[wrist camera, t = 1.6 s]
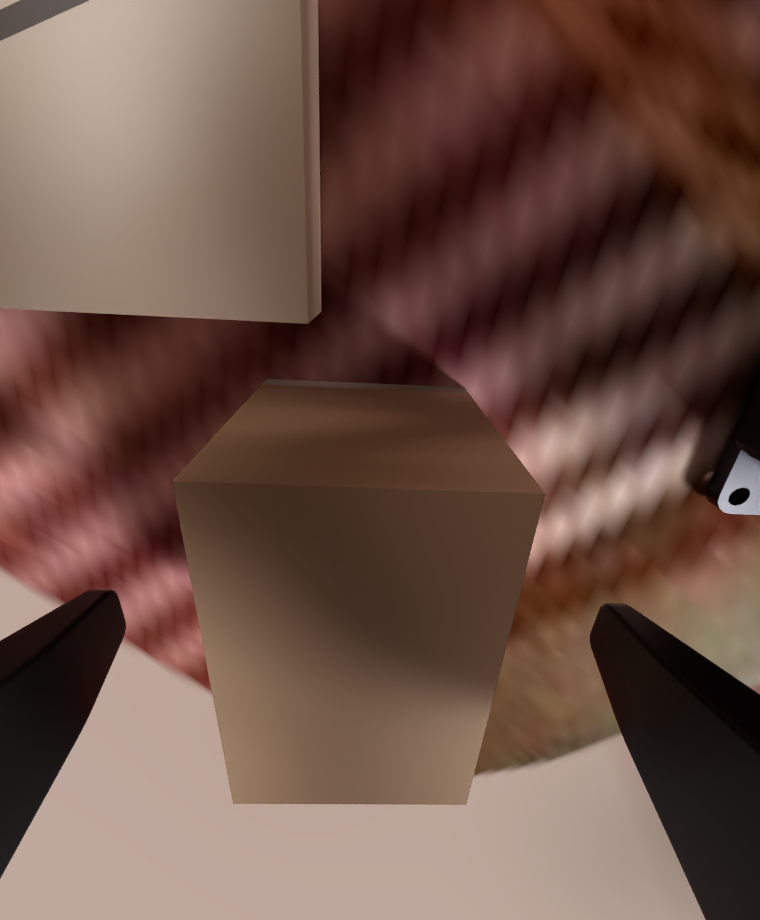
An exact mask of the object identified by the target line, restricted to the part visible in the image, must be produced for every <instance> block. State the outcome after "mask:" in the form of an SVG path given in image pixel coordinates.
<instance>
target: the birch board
mask: <svg viewBox="0 0 760 920" xmlns="http://www.w3.org/2000/svg"><path fill="white" fill-rule="evenodd" d="M0 309H20V310H40V311H60V312H80V313H101V314H121V315H141V316H161V317H182V318H202V319H222V320H242V321H262V322H283V323H303V324H308V323H309V322H311V321H312V320H313V319H314V318H315V317H316V316H317V315H318V314H319V313H320V312H321V222H320V129H319V36H318V0H0Z"/></svg>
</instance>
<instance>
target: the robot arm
mask: <svg viewBox="0 0 760 920" xmlns="http://www.w3.org/2000/svg"><path fill="white" fill-rule="evenodd" d="M733 491H734V493H733V494H731V493H732V492H733ZM730 494H731V495H730ZM706 496H707V500H708V501H709V502H710V503H712V504H713V505H714V506H716V507H717V508H719V509H720V510H721V511H723V512H725V513H729V514H750V515H760V372H759V374H758V376H757V378H756V381H755V383H754V385H753V387H752V389H751V392H750V394H749V396H748V398H747V401H746V403H745V405H744V407H743V410H742V412H741V414H740V416H739V419H738V421H737V423H736V425H735V428H734V430H733V432H732V434H731V436H730V439H729V441H728V443H727V445H726V448H725V450H724V452H723V454H722V457H721V459H720V461H719V463H718V466H717V468H716V470H715V472H714V474H713V477H712V479H711V481H710V483H709V486H708V488H707V492H706ZM125 630H126V622H125V618H124V615H123V611H122V608H121V604H120V601H119V598H118V595H117V593H116V592H115V591H113V590H101V589H93V590H88V591H86V592H84V593H82V594H81V595H79V596H77V597H75V598H74V599H72V600H70V601H68V602H67V603H65V604H63V605H61V606H60V607H58V608H56V609H55V610H53V611H51V612H49V613H48V614H46V615H44V616H43V617H41V618H39V619H37V620H36V621H34V622H32V623H31V624H29V625H27V626H25V627H23V628H22V629H20V630H18V631H17V632H15V633H13V634H11V635H10V636H8V637H6V638H4V639H3V640H1V641H0V878H1V876H2V874H3V873H4V871H5V869H6V867H7V865H8V864H9V862H10V860H11V858H12V856H13V855H14V853H15V851H16V849H17V847H18V846H19V844H20V842H21V840H22V838H23V836H24V835H25V833H26V831H27V829H28V827H29V826H30V823H31V822H32V820H33V818H34V816H35V814H36V813H37V811H38V809H39V807H40V806H41V804H42V802H43V800H44V798H45V796H46V795H47V793H48V791H49V789H50V787H51V785H52V784H53V782H54V780H55V778H56V776H57V775H58V773H59V771H60V769H61V767H62V766H63V764H64V762H65V760H66V758H67V757H68V755H69V753H70V751H71V749H72V748H73V746H74V744H75V742H76V740H77V738H78V736H79V734H80V733H81V731H82V729H83V727H84V725H85V723H86V721H87V719H88V717H89V715H90V713H91V710H92V708H93V706H94V704H95V701H96V699H97V697H98V695H99V692H100V690H101V688H102V685H103V683H104V681H105V678H106V676H107V674H108V672H109V669H110V667H111V665H112V662H113V660H114V658H115V655H116V653H117V651H118V649H119V646H120V644H121V642H122V640H123V637H124V634H125ZM590 644H591V648H592V651H593V654H594V657H595V660H596V663H597V666H598V669H599V671H600V674H601V677H602V680H603V683H604V686H605V689H606V692H607V695H608V697H609V700H610V703H611V706H612V709H613V712H614V715H615V718H616V720H617V723H618V725H619V728H620V731H621V733H622V736H623V738H624V740H625V743H626V745H627V747H628V749H629V752H630V753H631V756H632V758H633V760H634V763H635V765H636V767H637V769H638V771H639V773H640V776H641V778H642V780H643V783H644V785H645V787H646V789H647V791H648V793H649V796H650V798H651V800H652V802H653V804H654V807H655V809H656V811H657V813H658V815H659V818H660V820H661V822H662V824H663V827H664V829H665V831H666V833H667V835H668V837H669V840H670V842H671V844H672V846H673V849H674V851H675V853H676V855H677V857H678V860H679V862H680V864H681V866H682V869H683V871H684V872H685V875H686V877H687V879H688V882H689V884H690V886H691V888H692V891H693V893H694V895H695V897H696V899H697V902H698V904H699V906H700V908H701V911H702V913H703V915H704V917H705V919H706V920H760V694H758V693H757V692H755V691H754V690H752V689H751V688H749V687H748V686H746V685H745V684H744V683H742V682H741V681H739V680H738V679H736V678H735V677H733V676H732V675H730V674H729V673H727V672H726V671H724V670H723V669H721V668H720V667H719V666H717V665H716V664H714V663H713V662H711V661H710V660H708V659H707V658H705V657H704V656H702V655H701V654H699V653H698V652H696V651H695V650H694V649H692V648H691V647H689V646H688V645H686V644H685V643H683V642H682V641H680V640H679V639H677V638H676V637H674V636H673V635H671V634H670V633H669V632H667V631H666V630H664V629H663V628H661V627H660V626H658V625H657V624H655V623H654V622H652V621H651V620H649V619H648V618H646V617H645V616H644V615H642V614H641V613H639V612H638V611H636V610H635V609H633V608H632V607H630V606H629V605H626V604H618V603H606V604H603V605H602V606H601V607H600V609H599V612H598V614H597V617H596V620H595V623H594V625H593V628H592V631H591V634H590Z"/></svg>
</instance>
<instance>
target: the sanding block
mask: <svg viewBox="0 0 760 920" xmlns="http://www.w3.org/2000/svg"><path fill="white" fill-rule="evenodd" d="M172 485H173V490H174V495H175V500H176V506H177V511H178V516H179V521H180V527H181V532H182V537H183V542H184V548H185V553H186V558H187V563H188V569H189V574H190V579H191V585H192V590H193V595H194V600H195V606H196V611H197V616H198V621H199V627H200V632H201V637H202V642H203V648H204V653H205V658H206V663H207V669H208V674H209V679H210V684H211V690H212V695H213V700H214V705H215V711H216V715H217V721H218V726H219V731H220V737H221V742H222V748H223V752H224V758H225V763H226V769H227V774H228V779H229V784H230V790H231V795H232V800H233V803H234V804H236V803H237V804H244V803H245V804H253V803H254V804H451V805H456V804H457V805H459V804H461V805H462V804H464V805H465V804H466V803H467V799H468V795H469V791H470V787H471V783H472V779H473V776H474V772H475V768H476V764H477V760H478V756H479V752H480V748H481V744H482V740H483V736H484V732H485V728H486V724H487V720H488V717H489V713H490V709H491V705H492V701H493V697H494V693H495V689H496V685H497V681H498V677H499V673H500V669H501V665H502V661H503V658H504V654H505V650H506V646H507V642H508V638H509V634H510V630H511V626H512V622H513V618H514V614H515V610H516V606H517V602H518V598H519V595H520V591H521V587H522V583H523V579H524V575H525V571H526V567H527V563H528V559H529V555H530V551H531V547H532V543H533V539H534V536H535V532H536V528H537V524H538V520H539V516H540V512H541V508H542V504H543V500H544V496H545V493H544V492H543V490H542V489H541V488H540V486H539V485H538V484H537V482H536V481H535V480H534V479H533V477H532V476H531V475H530V473H529V472H528V471H527V469H526V468H525V467H524V465H523V464H522V463H521V461H520V460H519V459H518V458H517V456H516V455H515V454H514V452H513V451H512V450H511V448H510V447H509V446H508V444H507V443H506V442H505V440H504V439H503V438H502V437H501V435H500V434H499V433H498V431H497V430H496V429H495V427H494V426H493V425H492V423H491V422H490V421H489V419H488V418H487V417H486V416H485V414H484V413H483V412H482V410H481V409H480V408H479V406H478V405H477V404H476V402H475V401H474V400H473V398H472V397H471V396H470V395H469V393H468V392H467V391H466V389H465V388H464V387H445V386H422V385H399V384H376V383H354V382H331V381H308V380H285V379H266V380H265V381H264V382H263V384H262V385H261V386H260V387H259V388H258V389H257V390H256V391H255V392H254V393H253V394H252V395H251V396H250V398H249V399H248V400H247V401H246V402H245V403H244V404H243V405H242V406H241V407H240V408H239V409H238V410H237V412H236V413H235V414H234V415H233V416H232V417H231V418H230V419H229V420H228V421H227V422H226V423H225V424H224V426H223V427H222V428H221V429H220V430H219V431H218V432H217V433H216V434H215V435H214V436H213V437H212V438H211V440H210V441H209V442H208V443H207V444H206V445H205V446H204V447H203V448H202V449H201V450H200V451H199V452H198V454H197V455H196V456H195V457H194V458H193V459H192V460H191V461H190V462H189V463H188V464H187V465H186V466H185V468H184V469H183V470H182V471H181V472H180V473H179V474H178V475H177V476H176V477H175V478H174V479H173V480H172Z"/></svg>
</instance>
